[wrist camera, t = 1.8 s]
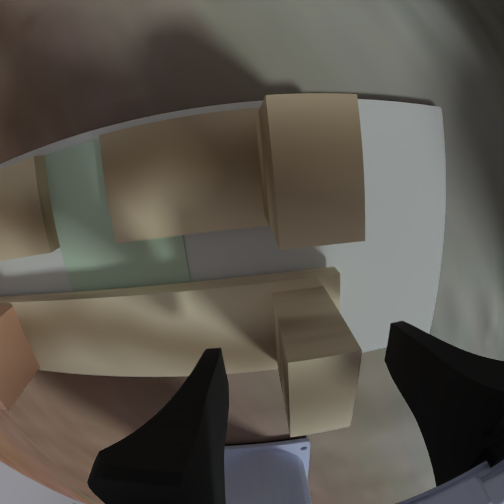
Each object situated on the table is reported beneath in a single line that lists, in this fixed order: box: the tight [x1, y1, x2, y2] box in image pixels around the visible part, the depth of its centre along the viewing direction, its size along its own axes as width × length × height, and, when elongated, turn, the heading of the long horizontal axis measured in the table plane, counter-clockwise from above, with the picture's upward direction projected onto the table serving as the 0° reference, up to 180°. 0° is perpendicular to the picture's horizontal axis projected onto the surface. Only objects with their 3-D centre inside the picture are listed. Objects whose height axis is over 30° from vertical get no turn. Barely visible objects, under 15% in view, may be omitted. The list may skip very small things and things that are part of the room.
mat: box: [0, 99, 446, 353], centre depth 14 cm, size 14×32×1 cm, turn 96°
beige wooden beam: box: [0, 267, 362, 437], centre depth 12 cm, size 5×24×6 cm, turn 96°
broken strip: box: [0, 93, 365, 261], centre depth 10 cm, size 5×24×6 cm, turn 95°
